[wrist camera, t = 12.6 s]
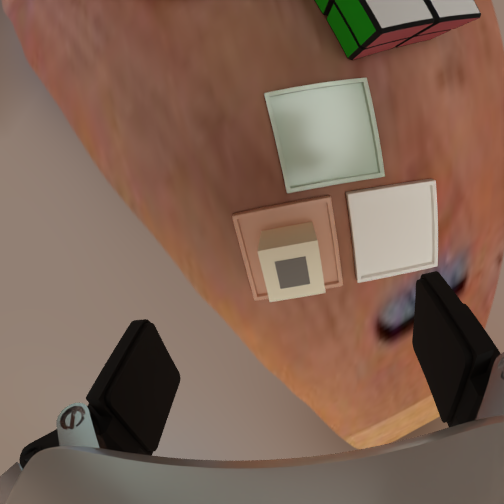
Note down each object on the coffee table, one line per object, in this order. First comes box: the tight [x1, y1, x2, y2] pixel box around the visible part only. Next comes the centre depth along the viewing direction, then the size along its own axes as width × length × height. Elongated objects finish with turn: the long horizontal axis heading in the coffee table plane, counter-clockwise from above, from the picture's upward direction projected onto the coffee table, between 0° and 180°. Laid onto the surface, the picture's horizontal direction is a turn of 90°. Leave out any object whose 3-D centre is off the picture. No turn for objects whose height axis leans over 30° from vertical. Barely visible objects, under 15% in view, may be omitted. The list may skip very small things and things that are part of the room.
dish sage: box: [264, 78, 385, 193], centre depth 26 cm, size 9×9×1 cm
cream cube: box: [257, 222, 325, 302], centre depth 29 cm, size 5×5×5 cm
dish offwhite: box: [345, 179, 438, 283], centre depth 29 cm, size 9×9×1 cm
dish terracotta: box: [232, 195, 343, 301], centre depth 31 cm, size 9×9×1 cm
